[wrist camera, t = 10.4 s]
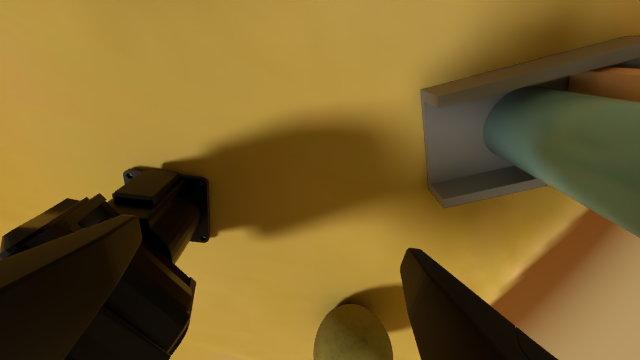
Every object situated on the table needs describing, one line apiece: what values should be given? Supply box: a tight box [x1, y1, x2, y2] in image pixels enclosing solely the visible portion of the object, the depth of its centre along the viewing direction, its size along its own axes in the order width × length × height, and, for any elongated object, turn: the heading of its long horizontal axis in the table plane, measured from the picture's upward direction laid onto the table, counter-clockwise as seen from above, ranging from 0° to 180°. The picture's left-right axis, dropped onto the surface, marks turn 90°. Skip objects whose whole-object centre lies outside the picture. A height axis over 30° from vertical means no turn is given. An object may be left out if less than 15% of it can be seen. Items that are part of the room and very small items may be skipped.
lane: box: [421, 36, 640, 208], centre depth 18 cm, size 14×9×6 cm, turn 104°
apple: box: [313, 304, 393, 360], centre depth 27 cm, size 8×8×7 cm
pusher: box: [568, 67, 640, 103], centre depth 17 cm, size 1×6×5 cm, turn 14°
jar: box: [483, 86, 640, 237], centre depth 14 cm, size 6×6×13 cm
